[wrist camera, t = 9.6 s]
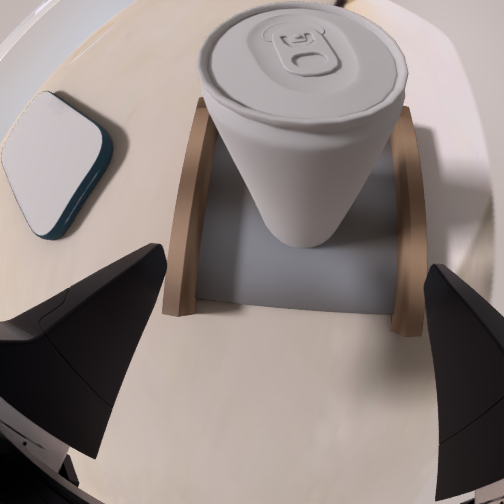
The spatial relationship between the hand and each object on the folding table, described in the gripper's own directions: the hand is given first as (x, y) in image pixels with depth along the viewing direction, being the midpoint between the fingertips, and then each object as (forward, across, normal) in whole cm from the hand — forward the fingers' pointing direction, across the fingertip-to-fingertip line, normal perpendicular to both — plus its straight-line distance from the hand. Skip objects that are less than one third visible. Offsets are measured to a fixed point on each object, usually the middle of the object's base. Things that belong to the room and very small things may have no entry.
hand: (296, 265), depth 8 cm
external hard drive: (+14, +27, -2) cm, 30 cm away
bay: (+8, 0, +2) cm, 9 cm away
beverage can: (+8, 0, +2) cm, 9 cm away
